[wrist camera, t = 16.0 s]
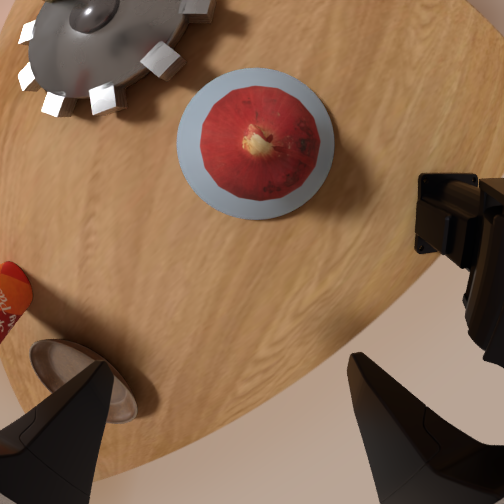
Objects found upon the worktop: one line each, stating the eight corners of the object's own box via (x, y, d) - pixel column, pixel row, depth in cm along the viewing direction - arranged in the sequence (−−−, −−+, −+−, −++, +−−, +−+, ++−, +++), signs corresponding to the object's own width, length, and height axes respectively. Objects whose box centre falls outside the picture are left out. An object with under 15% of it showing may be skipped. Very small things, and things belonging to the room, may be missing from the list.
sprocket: (81, -50, 8) (52, -72, 3) (252, -46, 11) (252, -88, 6) (10, 105, 14) (-34, 109, 9) (161, 141, 17) (127, 146, 12)
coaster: (321, 66, 15) (324, 63, 14) (335, 208, 19) (339, 211, 18) (170, 85, 16) (166, 83, 15) (194, 225, 20) (191, 228, 19)
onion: (311, 107, 16) (355, 85, 8) (296, 194, 18) (326, 234, 10) (218, 92, 15) (192, 58, 8) (206, 180, 18) (172, 212, 10)
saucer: (148, 420, 31) (144, 436, 28) (57, 390, 30) (50, 403, 27) (135, 344, 25) (127, 363, 22) (26, 311, 24) (13, 324, 22)
